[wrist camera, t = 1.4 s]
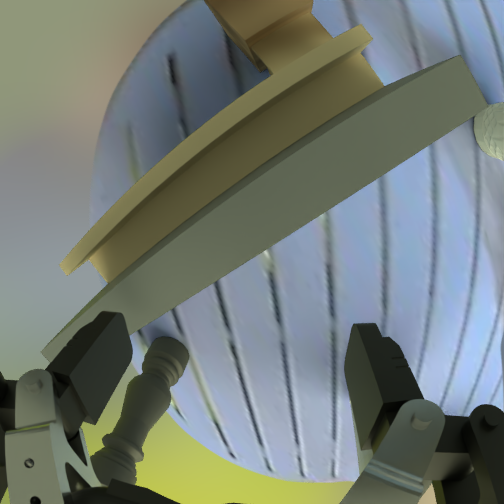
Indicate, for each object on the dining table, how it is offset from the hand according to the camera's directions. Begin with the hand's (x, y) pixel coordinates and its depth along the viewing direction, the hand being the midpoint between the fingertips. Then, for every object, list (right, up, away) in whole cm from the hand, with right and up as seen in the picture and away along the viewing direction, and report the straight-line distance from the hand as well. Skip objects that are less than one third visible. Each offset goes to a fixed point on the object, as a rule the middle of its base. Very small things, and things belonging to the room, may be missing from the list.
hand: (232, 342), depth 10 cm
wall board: (+2, +11, +23) cm, 25 cm away
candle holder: (-12, -12, +34) cm, 38 cm away
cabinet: (+2, +26, +17) cm, 31 cm away
